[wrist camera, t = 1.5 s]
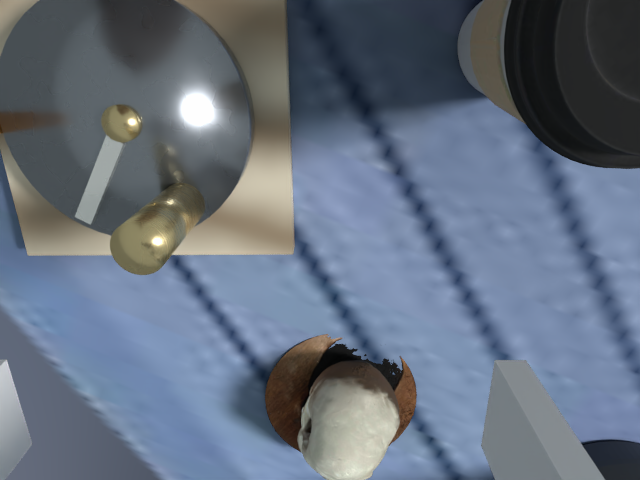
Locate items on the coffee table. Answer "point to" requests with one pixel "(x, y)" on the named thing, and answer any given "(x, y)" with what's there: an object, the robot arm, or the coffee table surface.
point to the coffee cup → (562, 72)
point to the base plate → (260, 174)
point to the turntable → (126, 119)
